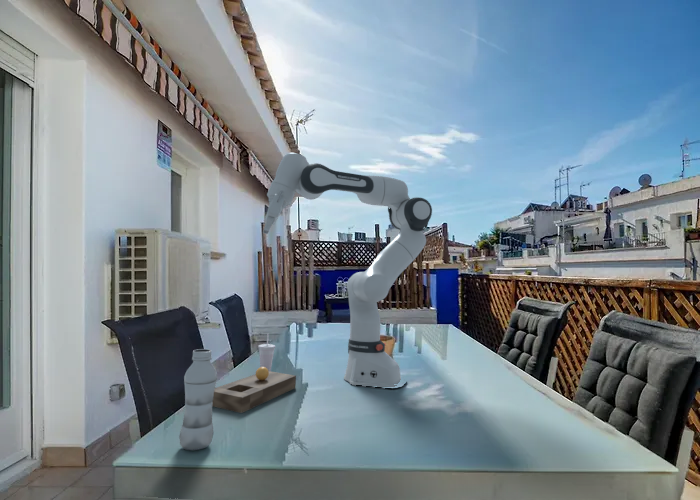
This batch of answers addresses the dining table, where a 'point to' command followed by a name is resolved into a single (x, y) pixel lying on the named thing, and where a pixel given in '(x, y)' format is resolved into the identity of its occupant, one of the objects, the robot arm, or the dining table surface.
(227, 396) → the brown wooden holder
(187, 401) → the plastic bottle
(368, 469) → the dining table surface
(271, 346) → the smoothie
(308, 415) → the dining table surface
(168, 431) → the dining table surface
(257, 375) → the ball
